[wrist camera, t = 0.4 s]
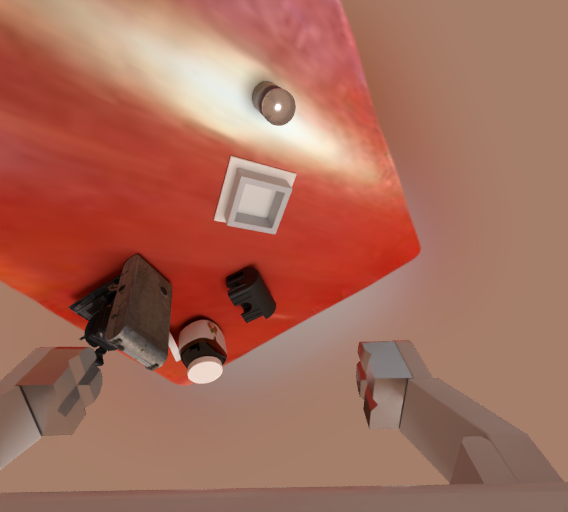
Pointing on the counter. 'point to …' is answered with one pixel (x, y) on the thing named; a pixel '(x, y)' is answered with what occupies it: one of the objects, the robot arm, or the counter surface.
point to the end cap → (250, 294)
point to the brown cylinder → (274, 103)
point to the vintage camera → (130, 314)
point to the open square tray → (254, 195)
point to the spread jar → (200, 350)
